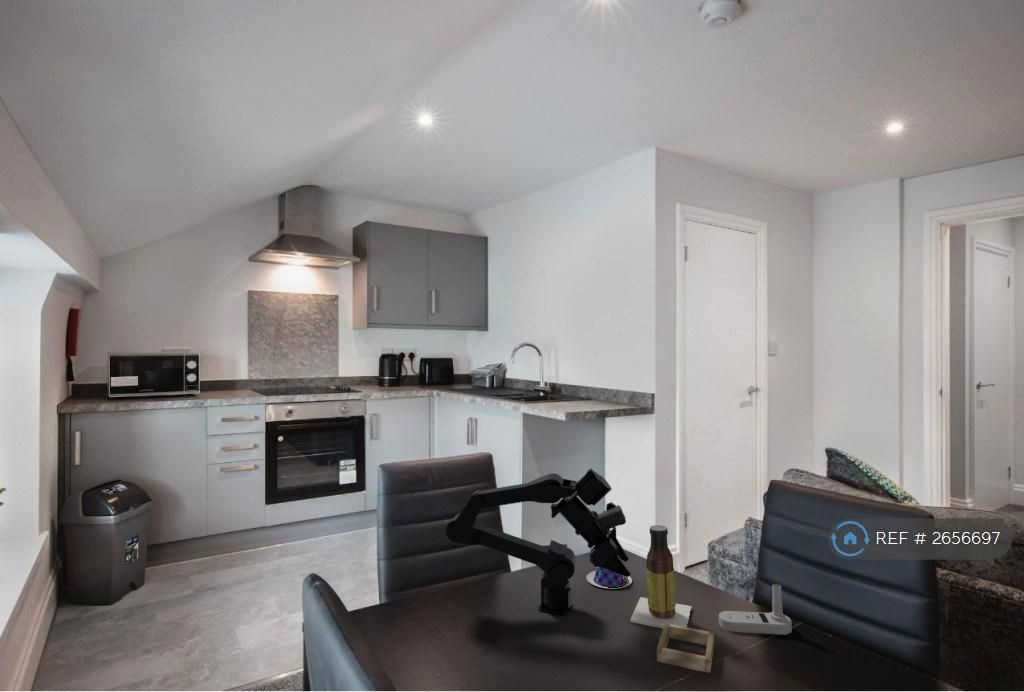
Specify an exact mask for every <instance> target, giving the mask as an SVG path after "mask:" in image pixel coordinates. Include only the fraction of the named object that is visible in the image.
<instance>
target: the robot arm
mask: <svg viewBox="0 0 1024 692" xmlns="http://www.w3.org/2000/svg"><path fill="white" fill-rule="evenodd" d="M611 491H612V487H611V485H610V483H608V480H606V479H605V478H604V477H603V476H602V475H600V474H599V473H598V472H596V471H595V470H594V469H593V468H589V469H588V470H587V471H586V472H585V474H584V475H583V476H582V477H581V478H580V479H579V480H573V479H567V478H563V477H562V476H561V475H559V474H558V473H556V472H555V473H548V474H545V475H541V476H540V477H538V478H536V479H535V478H534V479H533V480H530V481H528V482H525V483H519V484H513V485H508V486H502V487H495V488H488V489H478V490H475V491H474V492H473V493H472V495H471V496H470V497H469V500H468V502H466V504H465V506H464V508H463V509H462V510H461V512H459V513H457V514H455V516H454V517H453V518H452V519H451V521H449V522H448V523H447V525H446V527H445V533H446V537H447V538H448V541H450V543H453V544H456V545H461V546H465V547H466V546H482V547H484V548H487V549H490V550H493V551H496V552H499V553H502V554H504V555H508V556H511V557H512V558H514V559H515V558H516V559H519V560H522V561H524V562H527V563H529V564H532V565H535V566H537V568H538V569H540V570H541V571H543V572H542V575H541V578H540V604H539V606H538V611H543V612H546V613H551V614H557V615H562V616H564V615H565V614H567V611H568V610H569V609H570V608H571V606H572V605H573V604H572V600H573V599H572V598H573V597H572V596H573V595H572V593H573V592H572V587H570V579H572V577H573V576H574V574H575V570H576V565H577V564H576V562H577V558H576V554H575V552H574V551H573V550H572V548H569V547H568V544H566V543H565V544H563V543H559V542H558V541H555V540H554V539H551V540H550V542H549V545H548V544H547V545H546V544H545V545H542V544H541V545H540V544H538V543H535V542H533V541H530V540H527V539H525V538H521V537H518V536H515V535H512V534H510V533H506V532H503V531H500V530H497V529H494V528H492V527H489V526H488V525H487V524H485V523H483V522H482V521H481V520H480V519H479V518H478V517H479V514H480V513H481V511H482V509H487V508H493V507H500V506H505V505H512V504H517V503H524V502H531V503H537V504H538V503H539V504H551V506H550V510H551V518H552V519H554V518H556V516H558V514H560V515H561V517H563V518H564V519H565V521H567V522H568V524H570V526H571V527H572V528H573V529H574V530H575V532H574V533H575V534H576V535H577V536H580V537H582V539H583V540H584V541H586V543H587V548H589V549H590V554H589V562H590V563H591V564H592V565H593V566H594V567H595V568H597V567H599V568H600V567H602V568H605V569H608V570H610V571H613V572H615V573H618V574H620V575H623V576H625V577H629V576H630V577H631V572H630V571H629V569H628V567H627V566H626V565H625V563H626V562H628V561H629V559H630V558H629V556H628V555H627V553H626V551H625V550H624V548H623V546H622V545H621V543H620V541H619V539H618V538H617V527H618V526H623V525H625V524H626V523H627V519H626V516H625V513H624V512H623V508H622V507H621V506H620V505H619V504H617V505H616V504H615V503H613V501H611V502H608V503H606V505H605V510H603V511H602V512H600V513H597V511H596V510H591V509H590V508H588V506H591V505H592V506H595V505H597V504H598V503H599V502H600V501H601V500H602V499H603V498H604V497H605V496H606V495H608V493H610V492H611ZM623 561H624V562H625V563H624V562H623Z"/></svg>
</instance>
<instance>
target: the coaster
mask: <svg viewBox="0 0 1024 692" xmlns="http://www.w3.org/2000/svg"><path fill="white" fill-rule="evenodd" d="M690 611H691V612H692V605H687V604H682V603H676V607H675V615H674V616H672V617H670V618H661V617H656V616H654V615H652V614H651V613H650V612H649V606H648V597H642V596H640V598H639V599H638V602H637V604H636V606H635V609H634V610H633V613H632V615H631V617H630V623H633V624H634V623H635V624H639V625H644V626H649V627H653V628H659V629H663V628H664V625H665V623H667V624H672V625H678V626H683V627H688V625H689V620H690V617H689V616H691V613H690ZM687 624H688V625H687Z"/></svg>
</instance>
